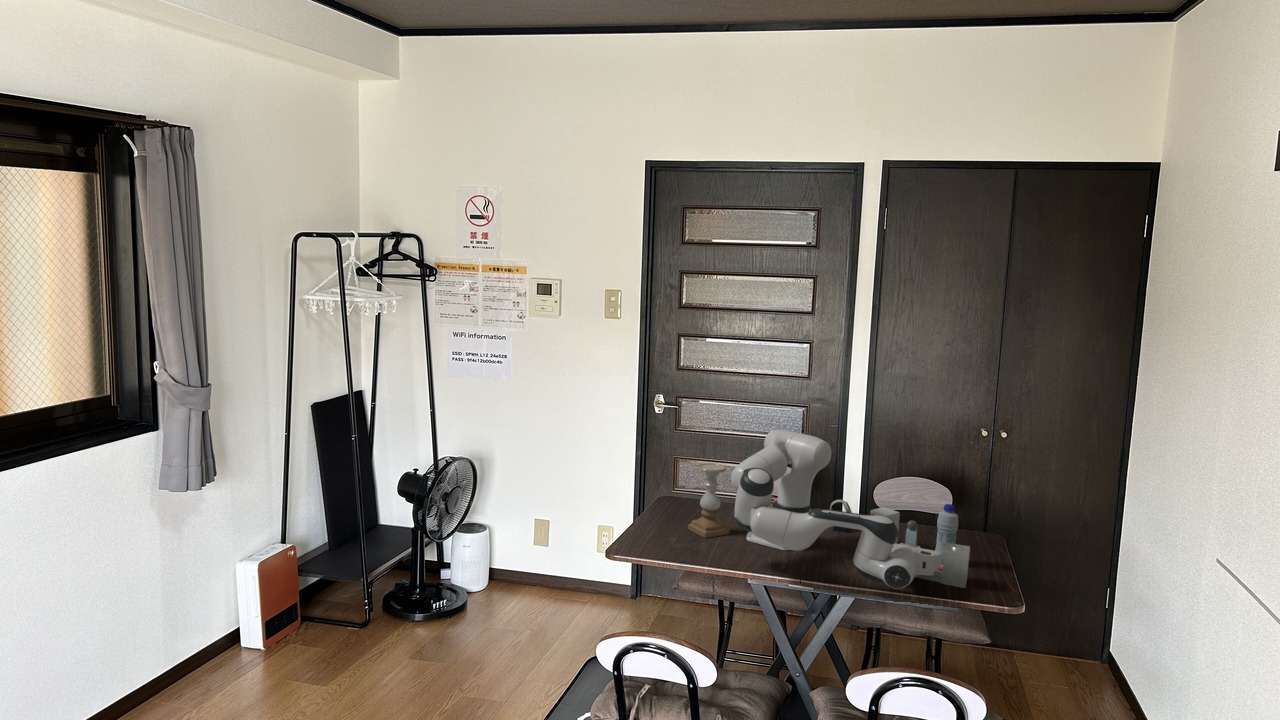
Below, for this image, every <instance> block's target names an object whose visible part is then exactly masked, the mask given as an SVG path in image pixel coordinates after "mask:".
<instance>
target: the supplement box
mask: <svg viewBox="0 0 1280 720" xmlns="http://www.w3.org/2000/svg"><path fill="white" fill-rule="evenodd" d="M869 511H870V512H869V515H879V516H885V517H887V518H890V519H892V520H893V521H894V523H895V525H896V527H897V529H898V531H900V529H899V527H900V512H899V511H896V510H893V509H891V508H887V507H883V506H882V507H879V508H875V509H874V508H873V509H871V510H869ZM898 541H899V536H898V537H897V539H896V541H895V544H899V543H898Z"/></svg>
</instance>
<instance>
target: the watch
mask: <svg viewBox="0 0 1280 720" xmlns="http://www.w3.org/2000/svg"><path fill="white" fill-rule="evenodd" d="M837 503H841V504H843V505H842V506H843V509H844V510H845V511H844V512H850V513H853V511H852V509H851V506H850V505H849V503H848V502H847V500H844V499H836V500H834V501H832V502H831V504H830V507H829V510H833V507H832V506H833V505H835V504H837ZM832 527H833V528H832V531H833V532H836V531H838V533H846V528H845V527H838V526H832Z"/></svg>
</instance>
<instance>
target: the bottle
mask: <svg viewBox="0 0 1280 720" xmlns="http://www.w3.org/2000/svg"><path fill="white" fill-rule="evenodd" d="M938 513H939V514H938V516H937V521H936V522H937V524H936V526H937V533H936V535H937V536H936V541H935V544H936V545H935V550H934V551H939V552H941V553H942V563H941V564H943V560H944V549H945V546H946V543H952V544H956V540H957V531H958V528H959V515H958V514H957V513H956V512H955V505H954V504H951V503H945V504H944V505H943V510H941V511H940V512H938Z"/></svg>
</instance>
